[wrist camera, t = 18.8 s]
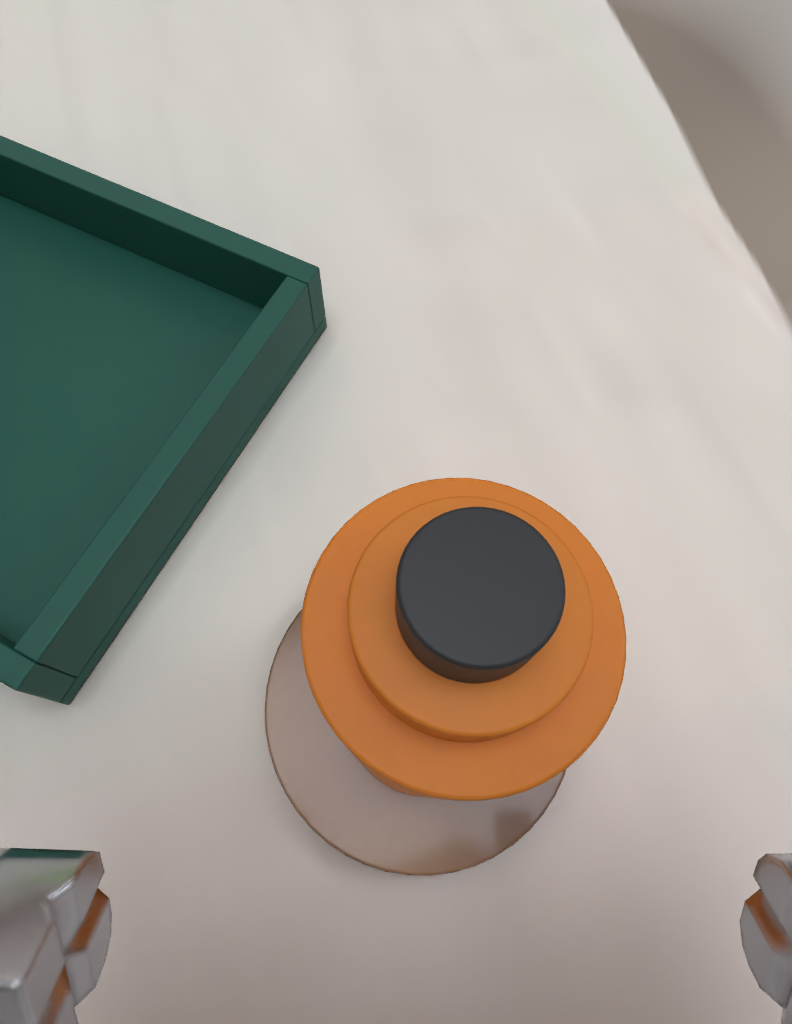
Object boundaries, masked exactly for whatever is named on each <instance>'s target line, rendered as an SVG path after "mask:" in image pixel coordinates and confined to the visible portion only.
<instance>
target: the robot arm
mask: <svg viewBox="0 0 792 1024" xmlns="http://www.w3.org/2000/svg"><path fill="white" fill-rule="evenodd" d="M103 874H104V868H103V864H102V859H101V855H100V852H96V851H81V850H52V849H22V848H0V1024H78V1020H77V1016H76V1011H75V1006H77V1005H78V1004H79V1003H80V1002H81V1001H82V1000H83V999H84V998H85V997H86V996H87V995H88V994H89V993H90V992H91V991H92V990H93V989H94V988H96V985H97V982H98V980H99V977H100V974H101V972H102V969H103V966H104V963H105V960H106V956H107V951H108V946H109V941H110V937H111V924H112V912H111V906H110V899H109V898H108V897H107V896H106V895H105V894H104V893H102V892H101V891H100V890H99V889H98V886H99V883H100V881H101V879H102V877H103ZM753 876H754V878H755V880H756V882H757V883H758V885H759V887H760V888H761V889H759V890H758V891H757V892H756V893H754V894H753V895H752V896H751V897H750V898H748V899H747V900H746V901H745V903H744V907H743V910H742V914H741V918H740V928H741V938H742V946H743V949H744V952H745V955H746V958H747V961H748V965H749V967H750V969H751V971H752V973H753V975H754V977H755V979H756V981H757V983H758V985H759V987H760V988H761V989H762V990H763V991H764V992H765V993H766V994H767V995H769V996H770V997H771V998H772V999H773V1000H774V1001H776V1002H777V1003H778V1004H779V1005H780V1006H781V1007H782V1008H783V1011H782V1019H781V1024H792V853H788V854H765V855H764V856H763V857H762V858H760V859H759V860H758V862H757V865H756V868H755V871H754V874H753Z"/></svg>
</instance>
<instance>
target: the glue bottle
mask: <svg viewBox="0 0 792 1024" xmlns="http://www.w3.org/2000/svg"><path fill="white" fill-rule="evenodd" d="M300 634H301V650H302V657H303V662H304V668H305V673H306V677H307V679H308V682H309V685H310V688H311V691H312V694H313V697H314V699H315V701H316V703H317V705H318V707H319V709H320V711H321V713H322V715H323V717H324V718H325V720H326V721H327V722H328V724H329V725H330V727H331V728H332V730H333V731H334V733H335V734H336V736H337V737H338V738H339V739H340V740H341V741H342V742H343V743H344V745H345V746H346V747H347V748H348V749H349V750H350V751H351V752H352V753H353V755H354V756H355V757H356V758H357V759H358V760H359V761H360V762H361V763H362V765H363V766H364V767H365V768H366V769H367V770H368V771H369V772H370V773H371V774H372V775H373V776H375V777H376V778H377V779H378V780H380V781H381V782H383V783H384V784H386V785H387V786H389V787H391V788H393V789H396V790H398V791H400V792H403V793H406V794H410V795H414V796H420V797H428V798H437V799H446V800H456V801H482V800H490V799H498V798H504V797H507V796H511V795H515V794H518V793H522V792H525V791H527V790H530V789H532V788H534V787H536V786H538V785H541V784H543V783H545V782H547V781H548V780H550V779H552V778H553V777H555V776H556V775H558V774H559V773H561V772H563V771H564V770H565V769H567V768H568V767H569V766H570V765H571V764H572V763H574V762H575V761H576V760H577V759H578V758H579V757H580V756H582V754H583V753H584V752H585V751H586V750H587V749H588V748H589V746H590V745H591V744H592V743H593V742H594V741H595V739H596V738H597V736H598V735H599V733H600V732H601V730H602V729H603V727H604V725H605V724H606V722H607V721H608V719H609V716H610V714H611V712H612V710H613V708H614V705H615V703H616V701H617V698H618V694H619V691H620V687H621V684H622V681H623V675H624V668H625V661H626V633H625V624H624V616H623V612H622V608H621V605H620V601H619V597H618V594H617V591H616V589H615V586H614V584H613V581H612V579H611V576H610V574H609V572H608V571H607V569H606V567H605V565H604V563H603V561H602V560H601V558H600V556H599V555H598V554H597V552H596V551H595V549H594V548H593V547H592V545H591V544H590V542H589V541H588V540H587V539H586V538H585V537H584V536H583V534H582V533H581V532H580V531H579V530H578V529H577V528H576V527H575V526H574V525H573V524H572V523H571V522H569V521H568V520H567V519H566V518H565V517H564V516H563V515H561V514H560V513H559V512H557V511H556V510H555V509H553V508H552V507H550V506H549V505H547V504H546V503H544V502H543V501H541V500H539V499H537V498H535V497H533V496H531V495H529V494H527V493H525V492H523V491H520V490H517V489H515V488H512V487H510V486H507V485H503V484H499V483H495V482H491V481H486V480H479V479H471V478H444V479H435V480H428V481H424V482H419V483H415V484H411V485H408V486H405V487H403V488H400V489H397V490H394V491H392V492H390V493H388V494H386V495H384V496H382V497H380V498H378V499H376V500H375V501H373V502H372V503H370V504H369V505H367V506H366V507H364V508H363V509H361V510H360V511H359V512H358V513H357V514H355V515H354V516H353V517H352V518H351V519H350V520H349V521H347V522H346V523H345V524H344V525H343V527H342V528H341V529H340V530H339V531H338V532H337V533H336V535H335V536H334V537H333V538H332V539H331V541H330V542H329V544H328V545H327V547H326V548H325V550H324V551H323V553H322V554H321V556H320V558H319V560H318V562H317V564H316V566H315V568H314V570H313V572H312V575H311V578H310V581H309V584H308V587H307V590H306V593H305V598H304V603H303V608H302V616H301V631H300Z"/></svg>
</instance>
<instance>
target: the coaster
mask: <svg viewBox="0 0 792 1024" xmlns="http://www.w3.org/2000/svg"><path fill="white" fill-rule="evenodd" d="M301 616H302V610H301V611H300V612H299V613H298V614H297V616H296V617H295V619H294V620H293V622H292V623H291V625H290V626H289V628H288V629H287V631H286V633H285V635H284V637H283V639H282V641H281V643H280V645H279V647H278V649H277V652H276V655H275V658H274V661H273V663H272V666H271V670H270V674H269V679H268V684H267V689H266V700H265V727H266V735H267V741H268V747H269V752H270V755H271V759H272V762H273V765H274V768H275V772H276V774H277V776H278V778H279V780H280V783H281V785H282V787H283V789H284V791H285V793H286V795H287V796H288V798H289V799H290V801H291V803H292V804H293V806H294V807H295V809H296V811H297V812H298V813H299V814H300V815H301V817H302V818H303V819H304V820H305V821H306V823H307V824H308V825H309V826H310V827H311V828H312V829H313V830H314V831H315V832H316V833H317V834H318V835H320V836H321V837H322V838H323V839H324V840H325V841H326V842H327V843H329V844H330V845H332V846H333V847H335V848H336V849H338V850H339V851H341V852H342V853H343V854H345V855H347V856H349V857H351V858H353V859H355V860H357V861H359V862H361V863H363V864H365V865H368V866H371V867H374V868H377V869H381V870H384V871H387V872H393V873H399V874H405V875H438V874H445V873H453V872H456V871H460V870H463V869H467V868H470V867H473V866H476V865H478V864H480V863H482V862H485V861H487V860H489V859H491V858H493V857H495V856H497V855H498V854H500V853H501V852H503V851H504V850H506V849H507V848H509V847H511V846H512V845H513V844H514V843H516V842H517V841H518V840H519V839H520V838H521V837H522V836H524V835H525V834H526V833H527V832H528V831H529V830H530V829H531V828H532V827H533V825H534V824H535V823H536V822H537V821H538V820H539V818H540V817H541V816H542V815H543V814H544V812H545V811H546V809H547V807H548V806H549V804H550V803H551V801H552V800H553V798H554V796H555V795H556V792H557V790H558V788H559V786H560V784H561V782H562V779H563V777H564V775H565V771H566V769H565V770H564V771H563V772H561V773H559V774H558V775H556V776H555V777H553V778H552V779H550V780H548V781H547V782H545V783H543V784H541V785H538V786H536V787H534V788H532V789H530V790H527V791H525V792H522V793H518V794H515V795H511V796H507V797H504V798H498V799H490V800H482V801H456V800H446V799H437V798H428V797H420V796H414V795H410V794H406V793H403V792H400V791H398V790H396V789H393V788H391V787H389V786H387V785H386V784H384V783H383V782H381V781H380V780H378V779H377V778H376V777H375V776H373V775H372V774H371V773H370V772H369V771H368V770H367V769H366V768H365V767H364V766H363V765H362V763H361V762H360V761H359V760H358V759H357V758H356V757H355V756H354V755H353V753H352V752H351V751H350V750H349V749H348V748H347V747H346V746H345V745H344V743H343V742H342V741H341V740H340V739H339V738H338V737H337V736H336V734H335V733H334V731H333V730H332V728H331V727H330V725H329V724H328V722H327V721H326V720H325V718H324V717H323V715H322V713H321V711H320V709H319V707H318V705H317V703H316V701H315V699H314V697H313V694H312V691H311V688H310V685H309V682H308V679H307V677H306V673H305V668H304V662H303V657H302V650H301V634H300V631H301Z"/></svg>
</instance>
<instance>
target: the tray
mask: <svg viewBox="0 0 792 1024" xmlns="http://www.w3.org/2000/svg"><path fill="white" fill-rule="evenodd" d="M326 326H327V325H326V318H325V309H324V302H323V294H322V287H321V279H320V272H319V268H318V267H317V266H314V265H312V264H309V263H307V262H305V261H302V260H300V259H297V258H295V257H293V256H290V255H288V254H285V253H283V252H280V251H278V250H276V249H273V248H271V247H268V246H266V245H264V244H261V243H259V242H256V241H254V240H251V239H249V238H247V237H244V236H242V235H239V234H237V233H235V232H232V231H230V230H227V229H225V228H222V227H220V226H218V225H215V224H213V223H210V222H208V221H206V220H203V219H201V218H198V217H196V216H193V215H191V214H189V213H186V212H184V211H181V210H179V209H177V208H174V207H172V206H169V205H167V204H164V203H162V202H160V201H157V200H155V199H152V198H150V197H148V196H145V195H143V194H140V193H138V192H135V191H133V190H131V189H128V188H126V187H123V186H121V185H119V184H116V183H114V182H111V181H109V180H106V179H104V178H102V177H99V176H97V175H94V174H92V173H90V172H87V171H85V170H82V169H80V168H77V167H75V166H73V165H70V164H68V163H65V162H63V161H61V160H58V159H56V158H53V157H51V156H48V155H46V154H44V153H41V152H39V151H36V150H34V149H32V148H29V147H27V146H24V145H22V144H19V143H17V142H15V141H12V140H10V139H7V138H5V137H3V136H0V682H2V683H4V684H5V685H7V686H9V687H11V688H12V689H14V690H17V691H20V692H24V693H28V694H31V695H35V696H38V697H42V698H46V699H49V700H53V701H56V702H60V703H63V704H70V703H71V701H72V700H73V698H74V697H75V695H76V694H77V692H78V691H79V689H80V688H81V686H82V685H83V683H84V682H85V681H86V679H87V678H88V676H89V675H90V673H91V672H92V670H93V669H94V667H95V666H96V664H97V663H98V661H99V660H100V659H101V657H102V656H103V654H104V653H105V651H106V650H107V648H108V647H109V645H110V644H111V642H112V641H113V639H114V638H115V636H116V635H117V634H118V632H119V631H120V629H121V628H122V626H123V625H124V623H125V622H126V620H127V619H128V617H129V616H130V614H131V613H132V611H133V610H134V609H135V607H136V606H137V604H138V603H139V601H140V600H141V598H142V597H143V595H144V594H145V592H146V591H147V589H148V588H149V587H150V585H151V584H152V582H153V581H154V579H155V578H156V576H157V575H158V573H159V572H160V570H161V569H162V567H163V566H164V564H165V563H166V562H167V560H168V559H169V557H170V556H171V554H172V553H173V551H174V550H175V548H176V547H177V545H178V544H179V542H180V541H181V539H182V538H183V537H184V535H185V534H186V532H187V531H188V529H189V528H190V526H191V525H192V523H193V522H194V520H195V519H196V517H197V516H198V515H199V513H200V512H201V510H202V509H203V507H204V506H205V504H206V503H207V501H208V500H209V498H210V497H211V495H212V494H213V492H214V491H215V490H216V488H217V487H218V485H219V484H220V482H221V481H222V479H223V478H224V476H225V475H226V473H227V472H228V470H229V469H230V468H231V466H232V465H233V463H234V462H235V460H236V459H237V457H238V456H239V454H240V453H241V451H242V450H243V448H244V447H245V445H246V444H247V443H248V441H249V440H250V438H251V437H252V435H253V434H254V432H255V431H256V429H257V428H258V426H259V425H260V423H261V422H262V420H263V419H264V418H265V416H266V415H267V413H268V412H269V410H270V409H271V407H272V406H273V404H274V403H275V401H276V400H277V398H278V397H279V396H280V394H281V393H282V391H283V390H284V388H285V387H286V385H287V384H288V382H289V381H290V379H291V378H292V376H293V375H294V373H295V372H296V371H297V369H298V368H299V366H300V365H301V363H302V362H303V360H304V359H305V357H306V356H307V354H308V353H309V351H310V350H311V349H312V347H313V346H314V344H315V343H316V341H317V340H318V338H319V337H320V335H321V334H322V332H323V331H324V329H325V328H326Z"/></svg>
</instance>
